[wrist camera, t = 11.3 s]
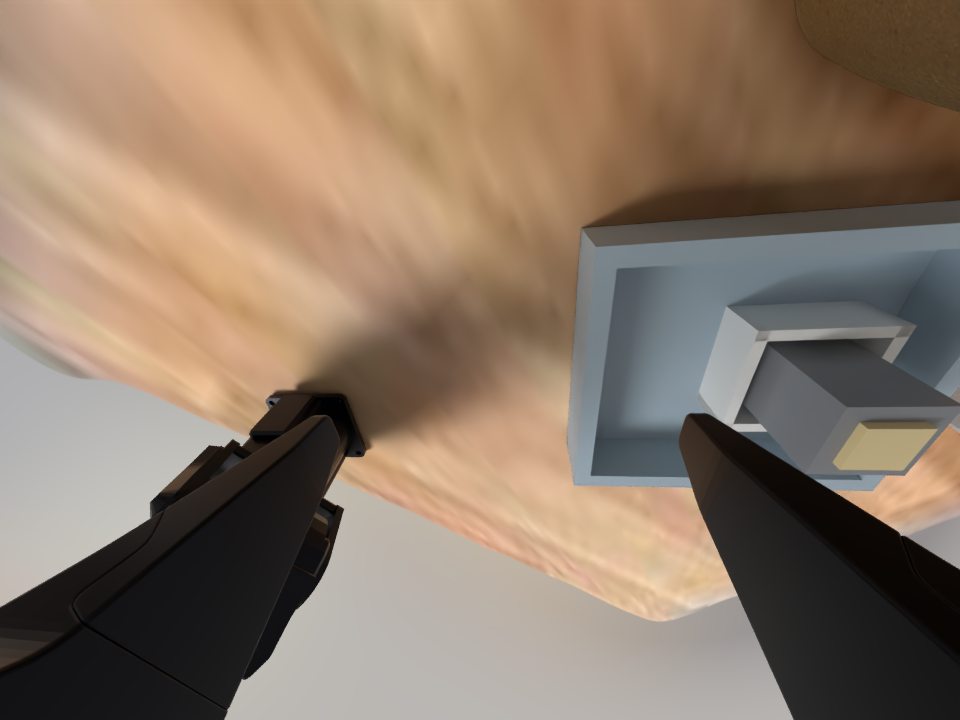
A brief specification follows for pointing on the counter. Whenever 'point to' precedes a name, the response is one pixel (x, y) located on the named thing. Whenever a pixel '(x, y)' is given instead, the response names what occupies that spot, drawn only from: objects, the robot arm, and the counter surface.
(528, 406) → the counter surface
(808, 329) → the frame
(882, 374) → the connector
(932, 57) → the plant pot
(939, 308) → the walled box
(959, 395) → the milk carton
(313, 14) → the counter surface
